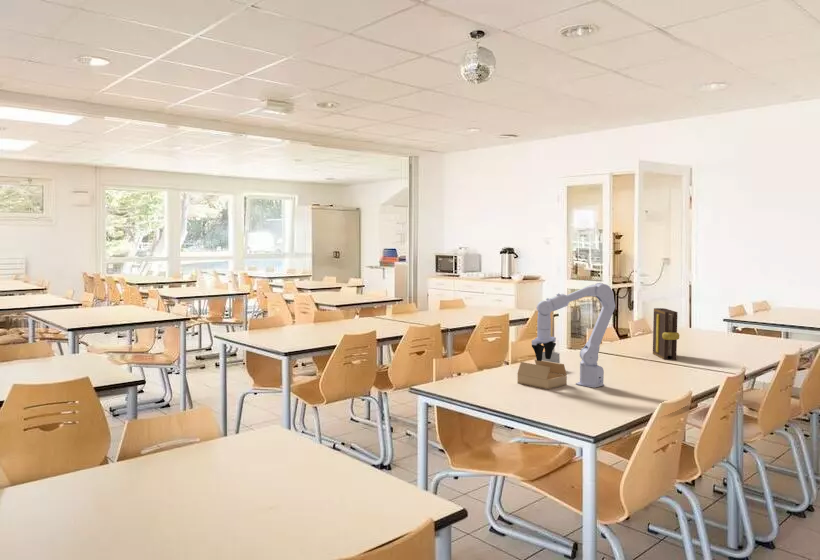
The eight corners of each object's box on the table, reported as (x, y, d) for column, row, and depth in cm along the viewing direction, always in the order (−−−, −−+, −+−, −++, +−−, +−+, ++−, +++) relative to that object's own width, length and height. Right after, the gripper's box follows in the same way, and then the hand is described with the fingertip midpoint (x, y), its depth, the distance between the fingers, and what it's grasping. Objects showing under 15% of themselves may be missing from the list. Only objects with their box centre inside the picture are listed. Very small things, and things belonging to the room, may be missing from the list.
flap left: (517, 374, 273) (517, 373, 273) (521, 362, 275) (520, 361, 274) (546, 380, 262) (546, 379, 262) (550, 367, 263) (549, 367, 263)
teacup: (553, 372, 297) (553, 355, 297) (532, 369, 304) (532, 353, 303) (565, 367, 308) (566, 351, 308) (545, 365, 315) (545, 349, 314)
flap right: (566, 375, 271) (566, 374, 271) (563, 364, 269) (563, 364, 270) (537, 370, 283) (538, 369, 283) (534, 359, 281) (535, 359, 281)
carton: (566, 384, 271) (566, 375, 271) (547, 389, 262) (547, 380, 262) (536, 378, 283) (536, 369, 283) (517, 383, 274) (517, 374, 274)
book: (649, 353, 348) (650, 308, 347) (665, 353, 348) (666, 308, 346) (664, 360, 326) (665, 312, 325) (680, 360, 326) (682, 312, 324)
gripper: (546, 326, 280) (546, 356, 280) (526, 329, 270) (525, 360, 271) (559, 327, 274) (559, 358, 275) (539, 331, 265) (539, 363, 266)
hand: (543, 359), depth 273 cm, fingers open, 6 cm apart
